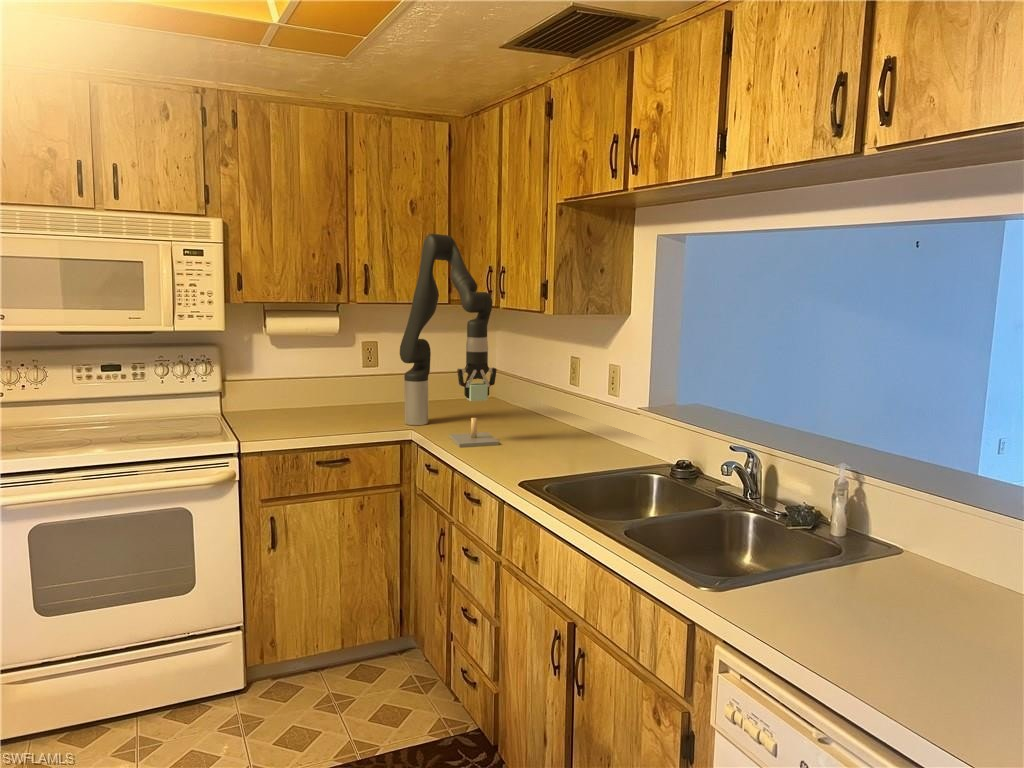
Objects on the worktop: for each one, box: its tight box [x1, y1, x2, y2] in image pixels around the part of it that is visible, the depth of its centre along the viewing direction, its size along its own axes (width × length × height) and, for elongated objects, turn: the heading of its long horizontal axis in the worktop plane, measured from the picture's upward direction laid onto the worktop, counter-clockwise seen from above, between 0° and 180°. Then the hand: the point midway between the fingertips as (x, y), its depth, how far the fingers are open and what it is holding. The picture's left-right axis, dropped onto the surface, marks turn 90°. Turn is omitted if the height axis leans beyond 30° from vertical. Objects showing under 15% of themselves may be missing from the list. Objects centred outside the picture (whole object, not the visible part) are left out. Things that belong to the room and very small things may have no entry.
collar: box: [466, 382, 489, 402], centre depth 258 cm, size 6×6×6 cm
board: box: [449, 417, 500, 448], centre depth 259 cm, size 16×14×8 cm
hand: (476, 397), depth 258 cm, fingers closed on collar, 6 cm apart
